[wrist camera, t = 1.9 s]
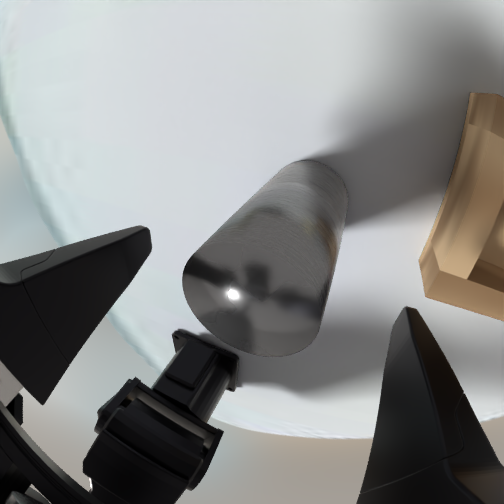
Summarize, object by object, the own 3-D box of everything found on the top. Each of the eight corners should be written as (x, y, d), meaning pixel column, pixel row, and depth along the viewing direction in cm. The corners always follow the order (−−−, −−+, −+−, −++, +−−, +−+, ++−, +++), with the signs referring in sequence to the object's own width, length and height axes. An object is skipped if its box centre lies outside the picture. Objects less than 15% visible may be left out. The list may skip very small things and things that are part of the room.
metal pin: (338, 244, 14) (301, 371, 8) (266, 224, 15) (187, 328, 9) (356, 172, 12) (340, 272, 6) (274, 152, 13) (177, 224, 7)
